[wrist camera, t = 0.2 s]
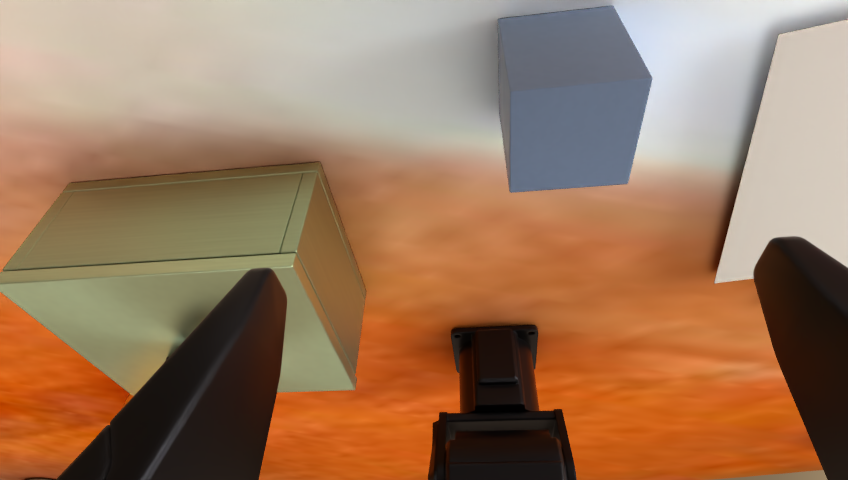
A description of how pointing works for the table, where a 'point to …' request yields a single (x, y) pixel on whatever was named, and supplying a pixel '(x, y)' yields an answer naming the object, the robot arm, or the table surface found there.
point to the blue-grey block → (569, 99)
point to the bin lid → (173, 315)
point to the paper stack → (796, 154)
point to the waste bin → (208, 229)
